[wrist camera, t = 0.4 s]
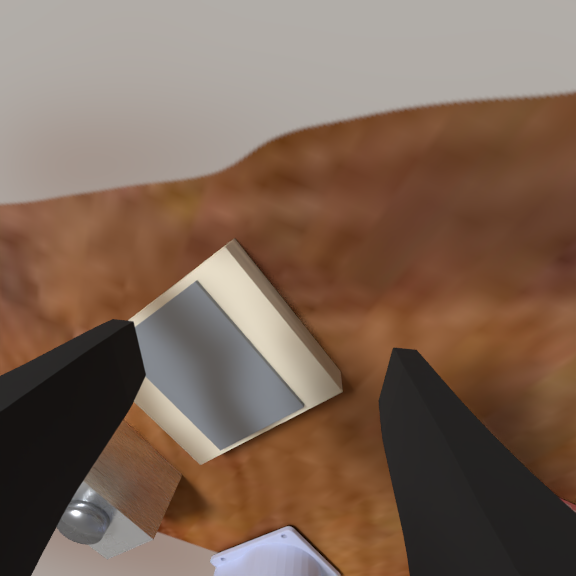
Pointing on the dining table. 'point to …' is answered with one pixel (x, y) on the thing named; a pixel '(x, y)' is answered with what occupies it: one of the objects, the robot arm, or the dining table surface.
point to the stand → (227, 357)
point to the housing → (121, 496)
